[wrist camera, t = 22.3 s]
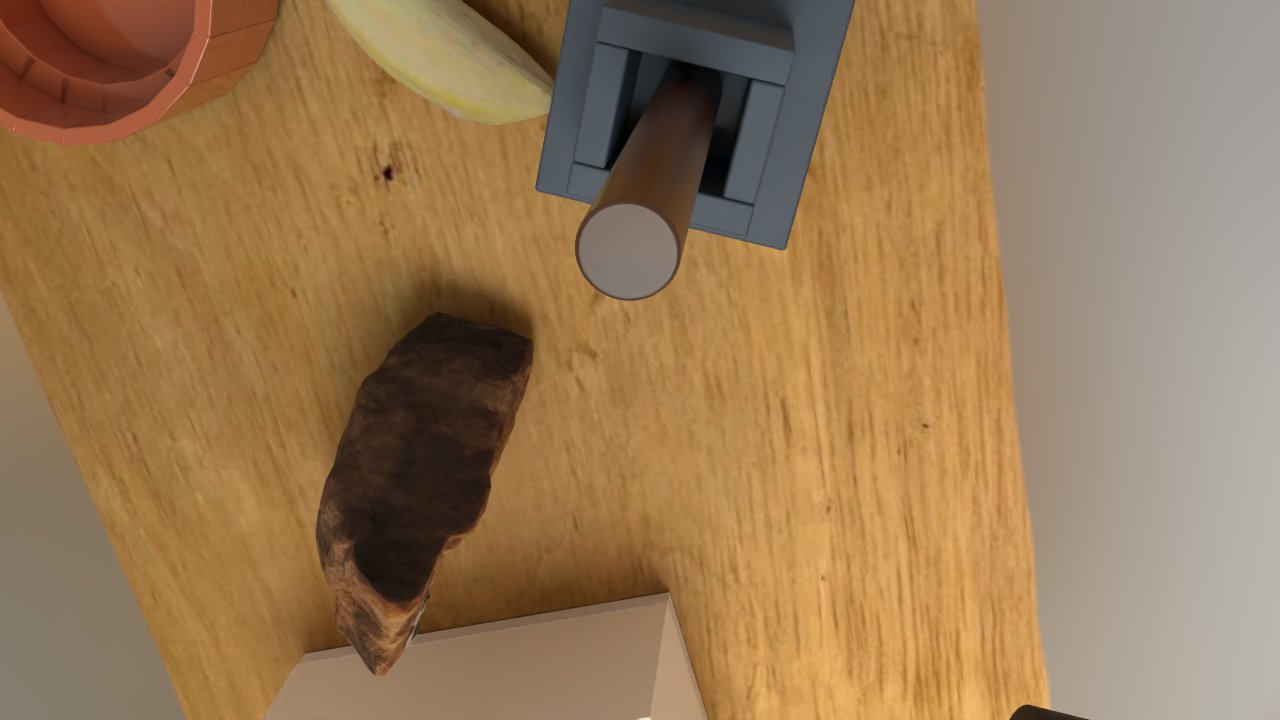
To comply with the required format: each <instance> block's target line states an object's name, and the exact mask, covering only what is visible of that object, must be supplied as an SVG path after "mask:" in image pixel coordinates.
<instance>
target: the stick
mask: <svg viewBox="0 0 1280 720" xmlns="http://www.w3.org/2000/svg"><path fill="white" fill-rule="evenodd" d="M721 97H722V85H721V81H720V79H719V76H718V75H717V73H716V72H715V70H714V69H711V68H707V67H703V66H699V65H695V64H691V63H686V62H682V61H680V62H678V63H676V64H675V65H673V66H672V67H671V68H669V70H668V71H667V72H666V73H665V75H664V77H663V78H662V80H661V82H660V84H659V86H658V87H657V89H656V91H655V93H654V94H653V96H652V98H651V100H650V102H649V103H648V105H647V107H646V109H645V111H644V112H643V114H642V116H641V118H640V119H639V121H638V123H637V125H636V127H635V128H634V130H633V132H632V134H631V136H630V137H629V139H628V141H627V143H626V144H625V146H624V148H623V150H622V152H621V153H620V155H619V157H618V159H617V161H616V162H615V164H614V166H613V168H612V169H611V171H610V173H609V175H608V177H607V178H606V180H605V182H604V184H603V186H602V187H601V189H600V191H599V193H598V194H597V196H596V198H595V200H594V202H593V203H592V205H591V207H590V209H589V211H588V212H587V214H586V216H585V218H584V219H583V221H582V223H581V225H580V227H579V229H578V232H577V236H576V241H575V254H576V259H577V263H578V266H579V268H580V270H581V272H582V274H583V275H584V277H585V278H586V280H587V281H588V282H589V283H590V284H591V285H592V286H593V287H594V288H595V289H597V290H598V291H600V292H601V293H603V294H605V295H607V296H609V297H612V298H615V299H619V300H626V301H635V300H641V299H645V298H648V297H651V296H653V295H655V294H657V293H659V292H660V291H661V290H663V289H664V288H665V287H666V286H667V285H668V284H669V283H670V282H671V281H672V279H673V278H674V276H675V274H676V273H677V270H678V268H679V265H680V261H681V257H682V253H683V249H684V245H685V241H686V237H687V233H688V229H689V225H690V221H691V217H692V213H693V209H694V205H695V201H696V197H697V193H698V189H699V185H700V181H701V177H702V173H703V169H704V165H705V161H706V157H707V153H708V149H709V145H710V141H711V137H712V133H713V129H714V125H715V121H716V117H717V113H718V109H719V105H720V101H721Z"/></svg>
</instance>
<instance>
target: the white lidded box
mask: <svg viewBox="0 0 1280 720" xmlns="http://www.w3.org/2000/svg"><path fill="white" fill-rule="evenodd" d="M262 720H708V718H707V715H706V712H705V708H704V705H703V702H702V698H701V695H700V692H699V688H698V685H697V682H696V679H695V675H694V672H693V669H692V665H691V662H690V659H689V655H688V652H687V649H686V645H685V642H684V639H683V636H682V632H681V629H680V626H679V622H678V619H677V616H676V612H675V609H674V606H673V603H672V599H671V596H670V593H669V592H667V593H661V594H656V595H650V596H644V597H638V598H632V599H626V600H620V601H614V602H608V603H602V604H596V605H590V606H584V607H578V608H573V609H567V610H561V611H555V612H549V613H543V614H537V615H531V616H525V617H519V618H513V619H507V620H501V621H495V622H490V623H484V624H478V625H472V626H466V627H460V628H454V629H448V630H442V631H436V632H430V633H424V634H418V635H417V636H416V638H415V640H414V642H413V643H412V645H411V646H409V647H408V648H407V649H406V650H405V651H404V652H403V654H402V655H401V656H400V657H399V658H398V659H397V661H396V662H395V663H394V665H393V666H392V667H391V669H390V670H389V671H388V672H387V674H386V675H383V676H377V675H373V674H372V672H371V671H370V670H369V669H368V668H367V666H366V665H365V664H364V662H363V660H362V659H361V657H360V656H359V654H358V652H357V651H356V650H355V648H354V647H353V646H347V647H341V648H335V649H329V650H324V651H318V652H312V653H306V654H304V656H303V657H302V659H301V660H300V662H299V663H297V664H296V665H295V667H294V668H293V670H292V672H291V673H290V675H289V677H288V678H287V680H286V682H285V683H284V685H283V686H282V688H281V690H280V691H279V693H278V695H277V696H276V698H275V700H274V701H273V703H272V705H271V706H270V708H269V710H268V711H267V713H266V714H265V716H264V718H263V719H262Z"/></svg>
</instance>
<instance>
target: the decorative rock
mask: <svg viewBox="0 0 1280 720" xmlns="http://www.w3.org/2000/svg"><path fill="white" fill-rule="evenodd" d="M533 351H534V344H533V341H532V340H530V339H527V338H525V337H522V336H520V335H517V334H515V333H512V332H510V331H507V330H505V329H502V328H499V327H495V326H490V325H485V324H479V323H474V322H471V321H468V320H465V319H461V318H458V317H454V316H451V315H450V314H444V313H441V312H438V313H436V314H435V315H430V316H428V317H427V318H426V319H425V320H424V321H423V322H422V323H421V324H420V325H418V326H417V327H416V328H414V329H413V330H411V331H410V332H409V333H408V334H407V335H406V336H405V337H404V338H403V339H402V340H400V341H399V342H397V343H396V344H395V346H394V347H393V349H391V350H390V351H389V352H388V354H387V357H386V359H385V361H384V362H383V363H382V365H381V366H380V367H379V368H378V369H377V371H375V372H374V373H372V374H370V375H369V376H367V377H366V378H365V380H364V381H363V383H362V385H361V387H360V389H359V391H358V393H357V397H356V401H355V405H354V408H353V410H352V413H351V415H350V419H349V423H348V426H347V428H346V430H345V431H344V433H343V435H342V438H341V441H340V443H339V445H338V449H337V454H336V458H335V462H334V466H333V468H332V470H331V472H330V474H329V475H328V477H327V479H326V482H325V485H324V489H323V493H322V498H321V502H320V508H319V511H318V517H317V523H316V542H317V549H318V554H319V558H320V563H321V568H322V571H323V573H324V575H325V578H326V580H327V582H328V584H329V585H330V586H331V587H332V588H333V589H334V590H335V591H336V595H337V598H336V599H337V604H336V614H335V627H336V629H337V631H338V632H339V633H342V634H344V635H345V637H346V639H347V641H348V642H349V643H350V644H351V645H352V646H353V647H354V648H355V650H356V651H357V652H358V654H359V656H360V657H361V659H362V660H363V662H364V664H365V665H366V666H367V668H368V669H369V670H370V671H371V672H372V674H373V675H377V676H383V675H386V674H387V672H388V671H389V670H390V669H391V667H392V666H393V665H394V663H395V662H396V661H397V659H398V658H399V657H400V656H401V655H402V654H403V652H404V651H405V650H406V649H407V648H408V647H409V646H411V645H412V643H413V642H414V640H415V638H416V636H417V632H418V628H419V625H420V621H421V614H422V612H423V611H424V609H425V605H426V601H427V599H428V598H430V597H429V591H430V589H431V587H432V585H433V583H434V581H435V579H436V577H437V575H438V572H439V570H440V567H441V565H442V562H443V560H444V558H445V556H446V554H447V553H448V552H450V551H451V550H453V549H455V547H456V546H457V545H458V544H459V543H460V542H461V540H463V539H464V538H466V537H468V536H469V535H471V534H473V532H474V530H475V528H476V526H477V524H478V521H479V519H480V518H481V516H482V515H483V514H484V512H485V509H486V505H487V502H488V498H489V494H490V490H491V481H490V479H491V477H492V475H493V473H494V471H495V469H496V467H497V465H498V463H499V460H500V457H501V453H502V451H503V449H504V448H505V446H506V444H507V442H508V440H509V437H510V434H511V432H512V429H513V427H514V422H515V415H516V412H517V410H518V408H519V406H520V403H521V401H522V399H523V396H524V393H525V389H526V386H527V383H528V379H529V376H530V372H531V368H532V364H533V359H532V358H533Z"/></svg>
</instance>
